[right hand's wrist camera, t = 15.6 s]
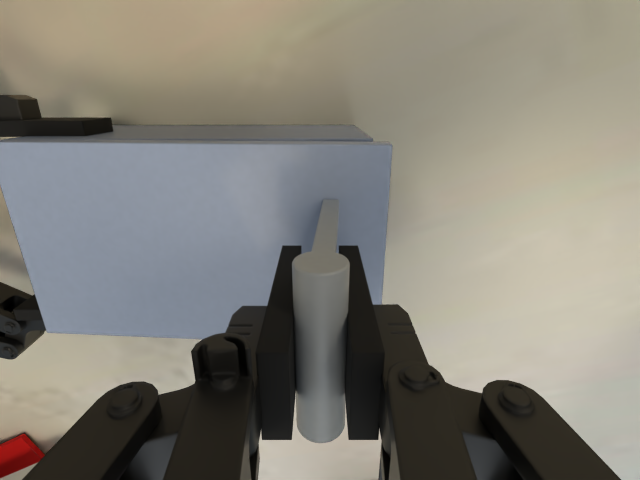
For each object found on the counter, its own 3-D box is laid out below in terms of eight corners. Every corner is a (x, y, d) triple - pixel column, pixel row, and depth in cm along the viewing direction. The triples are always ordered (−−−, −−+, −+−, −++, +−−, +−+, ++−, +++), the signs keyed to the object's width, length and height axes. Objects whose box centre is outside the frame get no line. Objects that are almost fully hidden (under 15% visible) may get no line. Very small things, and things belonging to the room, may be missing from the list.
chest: (354, 124, 26) (373, 138, 17) (350, 256, 29) (364, 319, 21) (106, 125, 25) (6, 138, 17) (133, 257, 29) (60, 321, 21)
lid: (389, 141, 16) (433, 187, 8) (377, 334, 20) (398, 499, 12) (6, 138, 17) (-295, 176, 9) (60, 321, 21) (-121, 464, 13)
